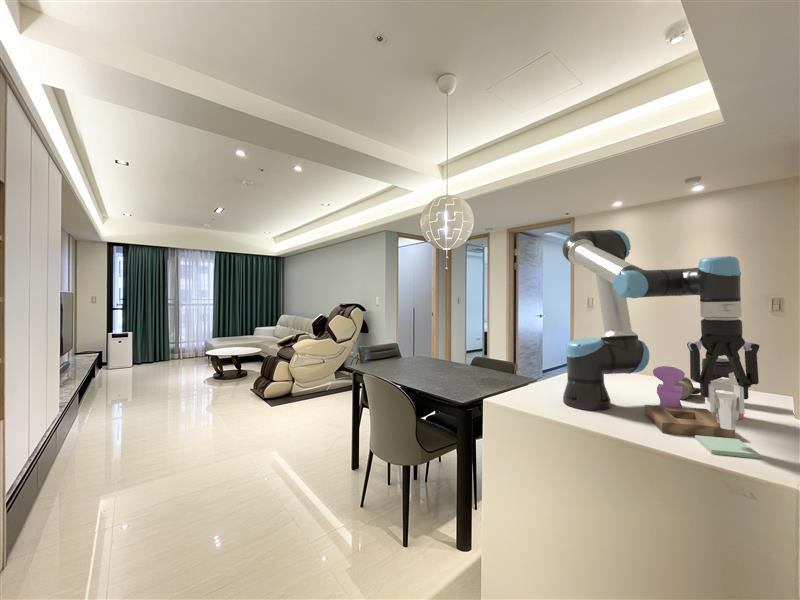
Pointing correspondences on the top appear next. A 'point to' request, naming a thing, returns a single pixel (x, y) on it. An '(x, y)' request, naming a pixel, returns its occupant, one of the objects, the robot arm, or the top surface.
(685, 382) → the ceramic sculpture
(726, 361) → the camera lens
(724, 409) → the milkshake
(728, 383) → the ink cartridge box
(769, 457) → the top surface
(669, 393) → the toy chair
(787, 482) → the top surface
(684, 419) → the pocket block
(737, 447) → the mat
